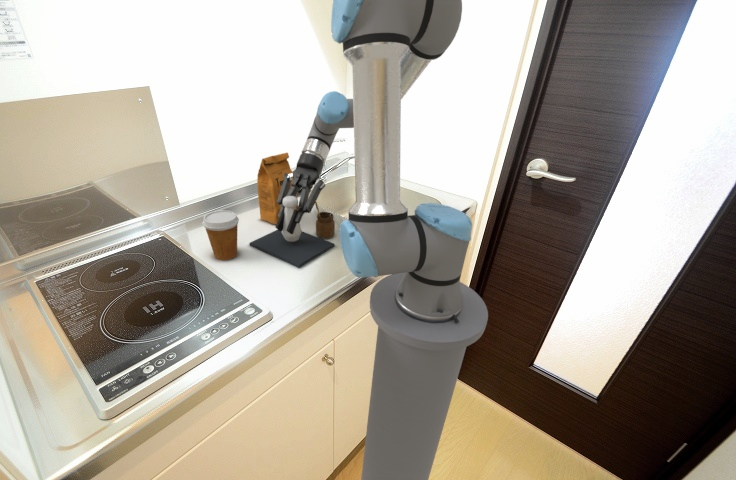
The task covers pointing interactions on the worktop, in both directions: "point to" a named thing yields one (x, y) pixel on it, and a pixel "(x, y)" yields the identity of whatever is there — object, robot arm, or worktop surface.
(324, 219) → the brown jar with stick
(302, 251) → the mat
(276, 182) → the coffee package
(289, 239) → the salt shaker
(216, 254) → the disposable coffee cup
